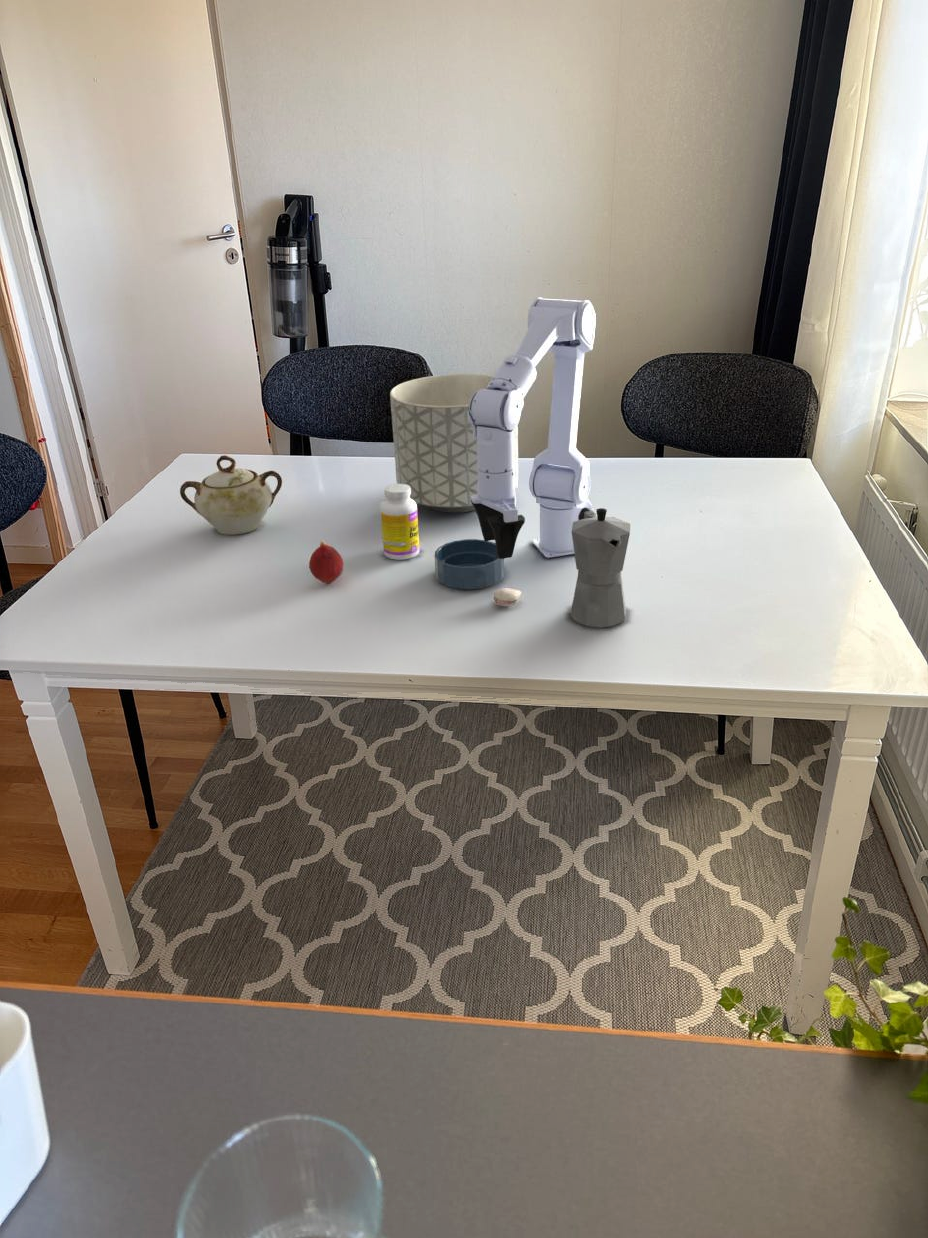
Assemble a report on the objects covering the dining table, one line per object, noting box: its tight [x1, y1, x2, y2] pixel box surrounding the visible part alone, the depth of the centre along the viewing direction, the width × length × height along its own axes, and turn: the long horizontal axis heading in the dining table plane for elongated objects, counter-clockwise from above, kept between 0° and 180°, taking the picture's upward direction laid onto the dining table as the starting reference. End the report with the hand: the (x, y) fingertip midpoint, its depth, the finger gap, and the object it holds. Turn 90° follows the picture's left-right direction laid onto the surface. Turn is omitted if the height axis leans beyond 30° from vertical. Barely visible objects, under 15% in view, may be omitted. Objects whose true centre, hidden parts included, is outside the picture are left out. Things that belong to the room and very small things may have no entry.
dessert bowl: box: [434, 538, 506, 590], centre depth 164 cm, size 12×12×4 cm
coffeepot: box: [570, 507, 631, 629], centre depth 147 cm, size 15×9×18 cm, turn 13°
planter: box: [389, 373, 519, 514], centre depth 191 cm, size 25×25×24 cm
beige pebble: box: [493, 587, 522, 607], centre depth 155 cm, size 4×5×2 cm
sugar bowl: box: [179, 454, 283, 536], centre depth 186 cm, size 20×15×15 cm
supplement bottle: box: [379, 483, 420, 561], centre depth 172 cm, size 7×7×13 cm
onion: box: [308, 540, 344, 585], centre depth 162 cm, size 6×6×8 cm
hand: (497, 548), depth 152 cm, fingers open, 7 cm apart
